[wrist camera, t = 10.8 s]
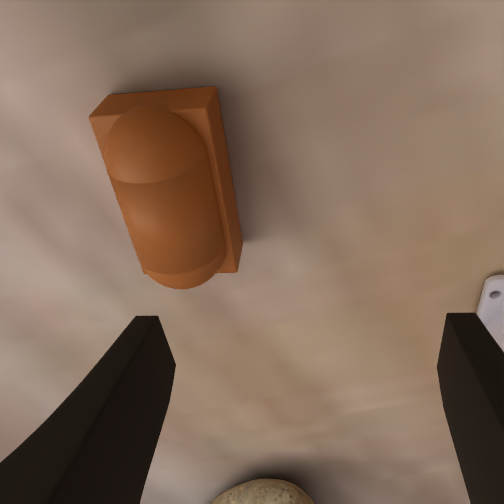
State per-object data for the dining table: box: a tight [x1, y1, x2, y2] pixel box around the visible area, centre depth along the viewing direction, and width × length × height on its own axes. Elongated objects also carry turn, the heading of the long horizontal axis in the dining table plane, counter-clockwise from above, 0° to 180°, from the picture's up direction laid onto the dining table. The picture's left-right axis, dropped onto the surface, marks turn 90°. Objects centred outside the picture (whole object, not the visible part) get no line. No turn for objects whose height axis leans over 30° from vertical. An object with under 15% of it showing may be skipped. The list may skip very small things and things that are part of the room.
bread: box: [89, 86, 243, 289], centre depth 20 cm, size 8×5×4 cm, turn 7°
